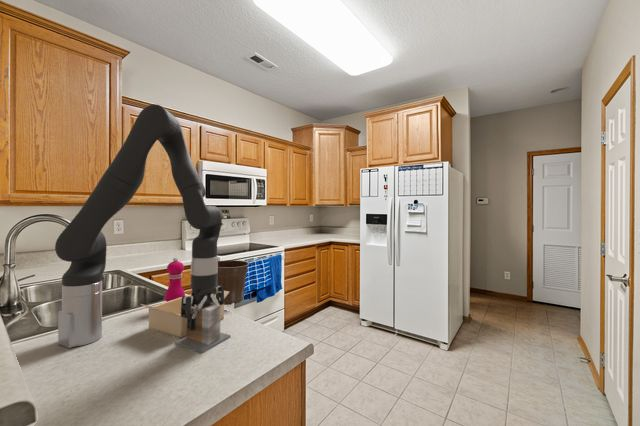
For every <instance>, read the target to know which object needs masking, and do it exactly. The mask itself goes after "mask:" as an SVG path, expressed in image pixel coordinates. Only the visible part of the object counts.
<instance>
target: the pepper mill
mask: <svg viewBox="0 0 640 426" xmlns="http://www.w3.org/2000/svg"><path fill="white" fill-rule="evenodd" d="M184 269H185V266H184V263H183V262H181V261H179V259H178V257H173V258H172V261H171V262H169V263H168V264H167V266H166V271H167V272H168V277H167V278H168V279H169V282H168V288H167V289H166V291H165V295H164V300H165V302H168V301H171V300H174V299H178V298H181V297H183V296H186V293H185V290H184V288H183V285H182V278H183V272H184Z"/></svg>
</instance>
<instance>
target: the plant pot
mask: <svg viewBox="0 0 640 426" xmlns="http://www.w3.org/2000/svg"><path fill="white" fill-rule="evenodd" d="M217 261H218V286H223V287H224V291H229V293H228V295H227V296H226V297H225V299H224V306H232V304H234V305H235V304H236V305H237V304H239V303H242V302H243V300H244V295H245V294H244V293H245V286H246V278H247V273H248V268H249V265H250V263H249V262H248V261H246V260H245V261H243V260H236V259H235V260H234V259H232V260H231V259H229V260H227V259H226V260H217Z"/></svg>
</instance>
